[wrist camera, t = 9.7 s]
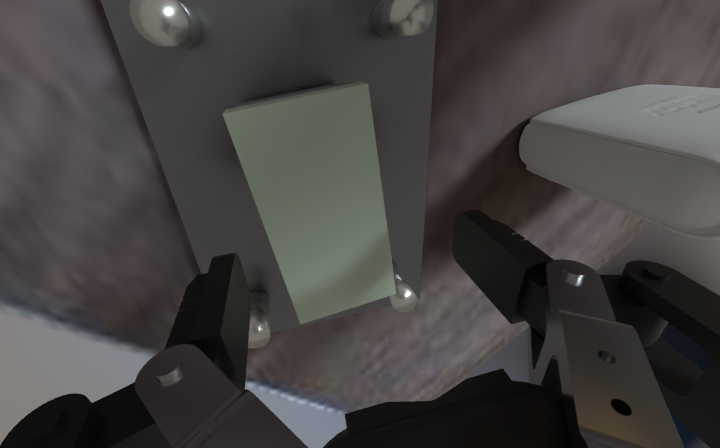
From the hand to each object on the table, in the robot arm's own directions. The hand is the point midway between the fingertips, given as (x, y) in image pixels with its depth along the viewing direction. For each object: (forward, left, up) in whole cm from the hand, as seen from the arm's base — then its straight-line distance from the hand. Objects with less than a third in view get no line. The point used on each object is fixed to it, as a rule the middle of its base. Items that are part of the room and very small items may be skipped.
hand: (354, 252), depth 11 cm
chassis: (+1, 0, -8) cm, 8 cm away
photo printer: (-18, -1, -8) cm, 20 cm away
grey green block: (+1, 0, -6) cm, 6 cm away
